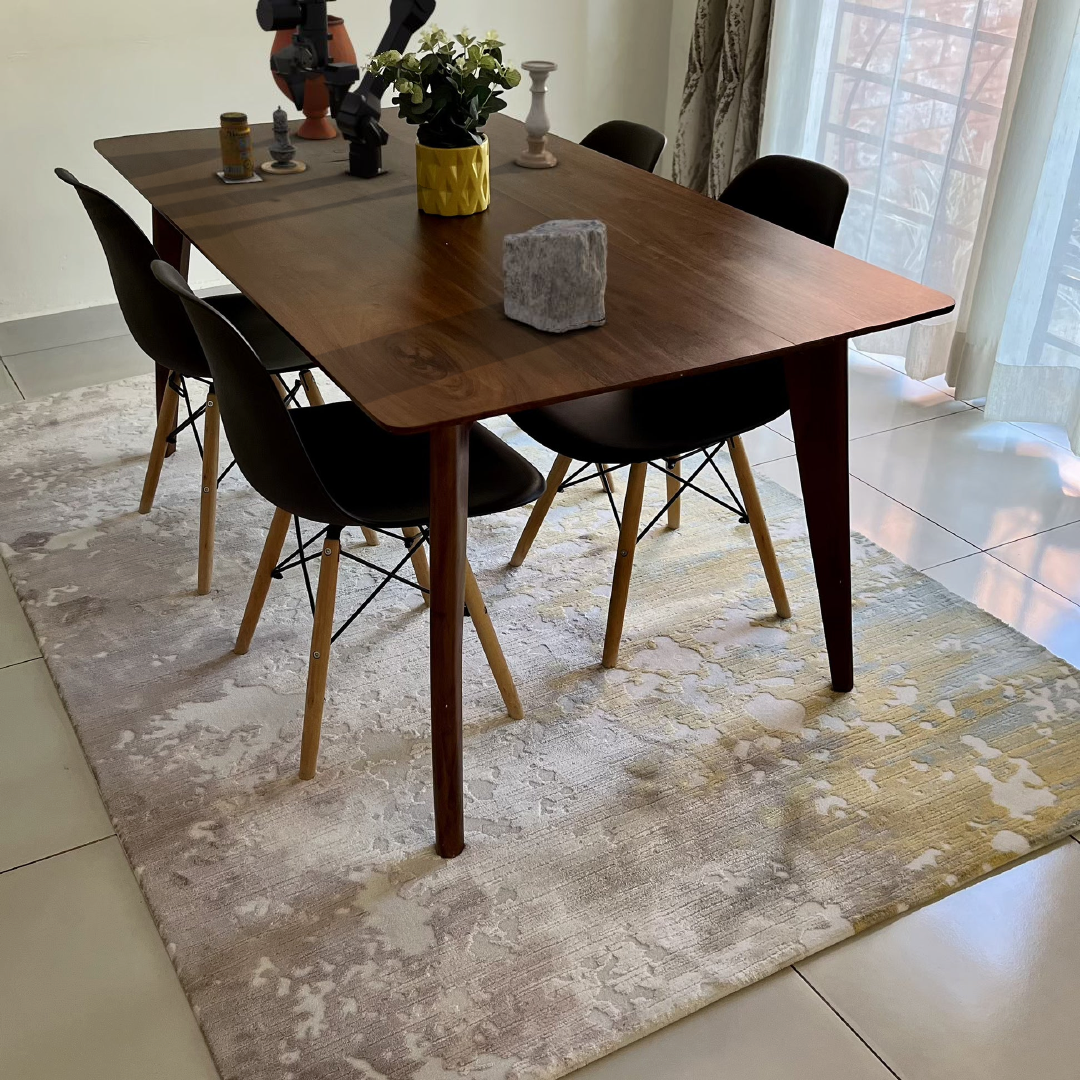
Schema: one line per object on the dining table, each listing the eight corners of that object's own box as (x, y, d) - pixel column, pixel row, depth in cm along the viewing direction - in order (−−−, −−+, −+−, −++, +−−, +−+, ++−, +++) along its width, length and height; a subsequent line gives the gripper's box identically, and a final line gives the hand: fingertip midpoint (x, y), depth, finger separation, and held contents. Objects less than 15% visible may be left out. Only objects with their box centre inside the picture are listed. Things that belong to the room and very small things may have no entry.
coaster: (283, 160, 251) (282, 157, 251) (314, 167, 247) (314, 165, 246) (252, 168, 244) (251, 166, 244) (284, 176, 240) (284, 173, 240)
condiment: (252, 170, 243) (246, 109, 237) (262, 181, 236) (257, 118, 230) (216, 173, 240) (209, 112, 234) (226, 184, 234) (219, 121, 227)
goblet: (353, 146, 263) (348, 25, 250) (266, 143, 263) (256, 21, 250) (365, 127, 279) (361, 12, 266) (283, 124, 279) (275, 8, 266)
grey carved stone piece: (271, 161, 247) (266, 101, 241) (299, 162, 248) (295, 102, 242) (267, 169, 242) (262, 108, 236) (297, 169, 243) (292, 108, 237)
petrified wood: (539, 283, 191) (543, 189, 183) (636, 305, 184) (644, 209, 176) (476, 318, 177) (476, 218, 169) (577, 343, 170) (583, 240, 162)
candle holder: (531, 156, 261) (534, 58, 250) (564, 163, 257) (568, 63, 246) (507, 163, 255) (509, 63, 244) (540, 171, 251) (544, 69, 240)
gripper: (245, 25, 221) (251, 112, 229) (317, 38, 212) (321, 128, 220) (289, 20, 229) (294, 105, 237) (360, 32, 220) (363, 120, 228)
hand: (316, 114), depth 231 cm, fingers open, 9 cm apart
